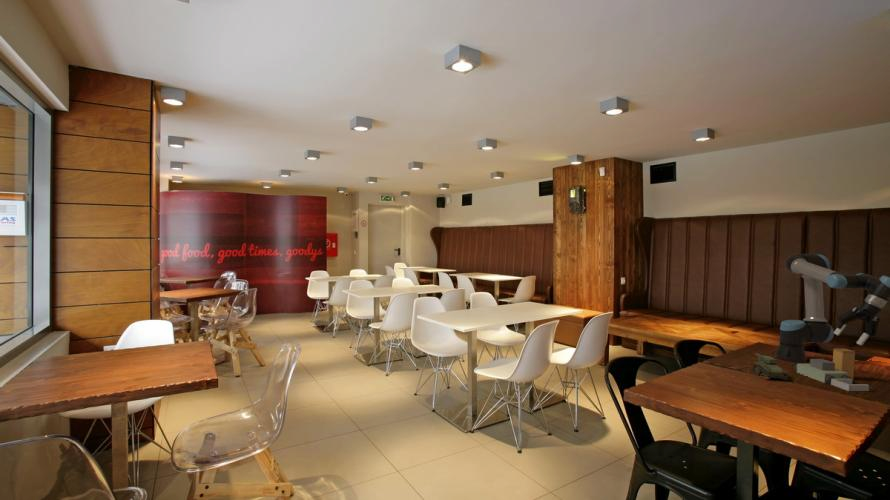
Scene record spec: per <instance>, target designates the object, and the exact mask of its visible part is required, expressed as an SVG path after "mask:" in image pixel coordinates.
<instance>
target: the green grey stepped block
mask: <svg viewBox="0 0 890 500" xmlns="http://www.w3.org/2000/svg"><path fill="white" fill-rule="evenodd" d="M793 370H794V371H795V372H796V373H797V374H799V373H800V374H799V375H802V374H803V375H802V376H804V377H805V376H806V377H807V376H808V378H811V379H813V380H816V381H818V382H821V383H823V384H830V385H831V386H834V387H837V388H838V389H842V390H845V391H847V392H869V391H870V384H868V383H867V384H866V383H865V384H864V383H863V384H862V383H861V384H859V383H858V384H856V383H853V379H851V377H849V376H848V374H849V373H846V372H843V371H840V370H837V369H835V363H834V362H833V361H830V360H827V359H824V358H810V361H809V363H797V364H795V365H794V367H793Z"/></svg>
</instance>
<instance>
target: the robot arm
mask: <svg viewBox="0 0 890 500" xmlns="http://www.w3.org/2000/svg"><path fill="white" fill-rule="evenodd" d="M783 263H784V267H785V269H786V270H788V271H789V272H791V273H794V274H798V275H800V276H801V277H802V278H803V283H804V284H803V286H804V304H805V305H804V306H805V318H804V319H802V320H799V319H786V320H782V321H781V323H780V327H779V341H778V343H779V345H778V347H777V349H776V351H775V353H774V357H775V358H777V359H780V360H783V361H786V362H787V361H788V362H795V363H806V362H807V358H808V357H807V355H806V352H805V348H804V347H805V346H804V345H805V343H807V344H808V343H809V344H810V343H812V344H815V343H816V344H828V343H829V342H830V341H832V339H833V338H834V335H836V336H840V335H841V334H842V332H843V331H844V330H845V328H846V326H847V324H848V323H851V322H854V321H856V320H860V321H863V322H864V327H865V329H864V330H865V332H863V333H862V334H861V336H860V337H859V339H858V340H856V344H857V345H859V346H863V345H864V343H866V341H868V340H869V338H870V337H875V336H877V334H878V326H879V322H880V321H881V318H880V317H877V315H879V314H880V312H881V311H882V308H884V307H885V305H886V304H887V303H888V301H889V300H890V277H889V276H887V275H881V277H879V278H878V277H876V276H872V275H870V274H869V273H868V274H867V273H863V272H862V273H861V272H858V273H856V274H845V273H841V272H839V271H835V270H832V269H831V262H830V260H829V258H828V257H826V256H825V255H823V254H818V253H793V254H790V255H789V256H787V257H786V259H784V262H783ZM823 283H825V284H827V286H828V287H829V288H832V289H838V290H839V289H841V290H842V289H843V290H847V289H848V290H867V291H869V293H868V295H867V296H866V297H865V299H864V301H862V303H861V304H860V306H859V308H858V307H855V306H854V307H852V308H851V309H850V310H848V311H846V312H845V313H843V314H842V315H841V316H839V317H837V320H838V324H837V325H836V329H835V330H834V328H833V326H832V325H831V324H829V322H828V320H827V319H826V318H825V309H824V306H825V305H824V304H825V303H824V287H823V286H824V285H823Z"/></svg>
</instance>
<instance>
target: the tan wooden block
mask: <svg viewBox="0 0 890 500" xmlns="http://www.w3.org/2000/svg"><path fill="white" fill-rule="evenodd" d="M832 353H833V354H832V362H834V363H835V369H837V370H840V371H843V372H846V373H849V374H848V376H849V377H851V379H852V380H854V375H855V359H856V358H855V357H856V351H855V350H851V349H848V348H833V352H832Z"/></svg>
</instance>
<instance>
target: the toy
mask: <svg viewBox="0 0 890 500" xmlns="http://www.w3.org/2000/svg"><path fill="white" fill-rule="evenodd" d="M755 357H758V358H757V359H758V361H754V364H753V366H752V372H753V374H754V375H756V374H758V375H760V376H765V377H768V378H774V379H773V380H780V379H781V380H780V381H782V380H785V381H786V382H788V380H789V376H788V375H789V374H788V372H787V371H785V370H784V369H783V368H782V367H781V366H780V365H778V364H777V359H776V358H774V357H772V356H770V355H769V356H768V355H761V354H759V353H757V352H756V353H755ZM758 375H757V376H758ZM760 376H759V377H760ZM785 381H784V382H785Z"/></svg>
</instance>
